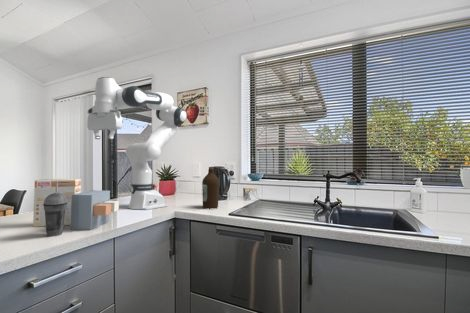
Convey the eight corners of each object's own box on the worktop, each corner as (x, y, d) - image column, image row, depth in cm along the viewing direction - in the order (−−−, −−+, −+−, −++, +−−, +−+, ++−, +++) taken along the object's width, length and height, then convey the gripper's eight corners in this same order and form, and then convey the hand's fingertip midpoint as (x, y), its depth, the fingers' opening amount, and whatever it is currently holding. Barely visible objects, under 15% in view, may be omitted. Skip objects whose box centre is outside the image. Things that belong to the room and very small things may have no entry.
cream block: (118, 209, 105) (118, 201, 105) (114, 211, 101) (114, 202, 101) (105, 209, 105) (105, 200, 105) (100, 211, 101) (100, 202, 101)
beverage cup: (63, 230, 91) (65, 180, 91) (68, 234, 86) (70, 181, 86) (40, 234, 85) (42, 181, 86) (43, 239, 80) (46, 182, 81)
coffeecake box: (80, 221, 105) (81, 178, 105) (73, 225, 98) (75, 179, 99) (41, 222, 101) (43, 178, 102) (32, 227, 94) (34, 180, 95)
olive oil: (214, 205, 148) (215, 166, 148) (221, 208, 139) (222, 167, 139) (199, 206, 143) (200, 166, 143) (205, 209, 134) (206, 167, 134)
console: (109, 220, 106) (110, 190, 106) (90, 229, 92) (91, 195, 92) (91, 220, 106) (92, 190, 106) (70, 229, 92) (71, 194, 92)
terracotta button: (110, 213, 98) (111, 203, 98) (105, 215, 94) (105, 205, 94) (96, 213, 98) (96, 203, 98) (90, 215, 94) (91, 205, 94)
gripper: (126, 110, 109) (125, 139, 108) (97, 113, 117) (96, 140, 117) (114, 107, 103) (113, 137, 103) (85, 110, 111) (84, 138, 111)
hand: (104, 139), depth 110 cm, fingers open, 8 cm apart
